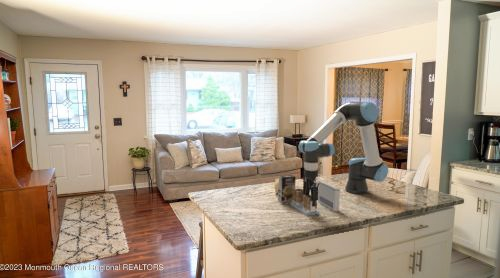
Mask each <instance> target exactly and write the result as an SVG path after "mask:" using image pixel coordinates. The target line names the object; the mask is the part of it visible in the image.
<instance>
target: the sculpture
mask: <svg viewBox="0 0 500 278" xmlns="http://www.w3.org/2000/svg"><path fill="white" fill-rule="evenodd" d="M278 183H279V177H278V178H275V179H274V184H273V185H274V187H273V188H274V191H275V193H277V194H278Z"/></svg>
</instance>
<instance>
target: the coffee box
mask: <svg viewBox="0 0 500 278" xmlns="http://www.w3.org/2000/svg"><path fill="white" fill-rule="evenodd" d="M278 178H279V183H278V193H277V201H278V202H280V203H281V204H285V203H290V202H293V189H296V179H297V178H296V176H295V175H293V174H281V175H280V174H278Z"/></svg>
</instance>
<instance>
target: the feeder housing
mask: <svg viewBox="0 0 500 278" xmlns="http://www.w3.org/2000/svg"><path fill="white" fill-rule="evenodd" d="M318 183H319V186H318V200H317V203H319V204H321V205H322V204H323V205H322V206H325V207H326V208H327V209H329V208H330V210H331V211H333V212H334V211H335V212H339V211H340V198H341V197H340V196H341V195H340V193H341V188H339V187H337V186H336V185H333V184H331V183H329V182H327V181H324V180H319V181H318Z"/></svg>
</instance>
